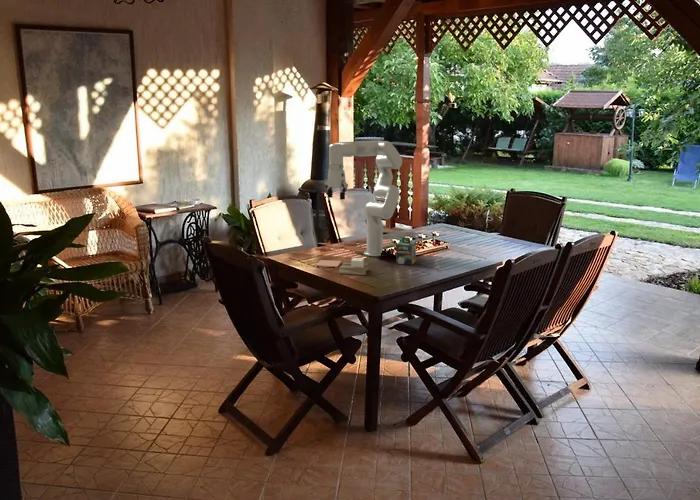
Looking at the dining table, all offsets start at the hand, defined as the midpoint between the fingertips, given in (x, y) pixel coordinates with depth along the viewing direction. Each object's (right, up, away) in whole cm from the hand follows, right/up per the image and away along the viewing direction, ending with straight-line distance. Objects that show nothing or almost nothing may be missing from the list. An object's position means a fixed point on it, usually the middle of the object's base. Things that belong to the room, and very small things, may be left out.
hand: (336, 198), depth 355 cm
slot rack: (+10, -40, -7) cm, 42 cm away
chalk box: (+39, -36, +12) cm, 54 cm away
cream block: (+12, -40, -8) cm, 42 cm away
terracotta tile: (-4, -36, +7) cm, 37 cm away
